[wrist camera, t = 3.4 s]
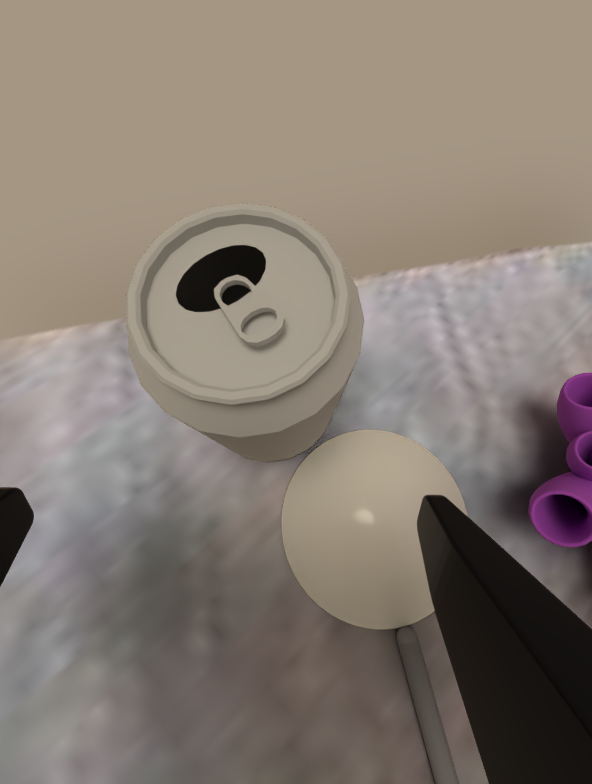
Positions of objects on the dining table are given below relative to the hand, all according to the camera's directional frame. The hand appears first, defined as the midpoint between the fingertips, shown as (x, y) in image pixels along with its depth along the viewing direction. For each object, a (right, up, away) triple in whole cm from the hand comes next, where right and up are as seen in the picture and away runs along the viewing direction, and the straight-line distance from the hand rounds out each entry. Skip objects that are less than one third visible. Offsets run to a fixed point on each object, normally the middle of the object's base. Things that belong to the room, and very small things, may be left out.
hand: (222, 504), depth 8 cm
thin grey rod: (+8, -15, +8) cm, 19 cm away
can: (0, +2, +13) cm, 13 cm away
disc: (+6, -5, +11) cm, 13 cm away
